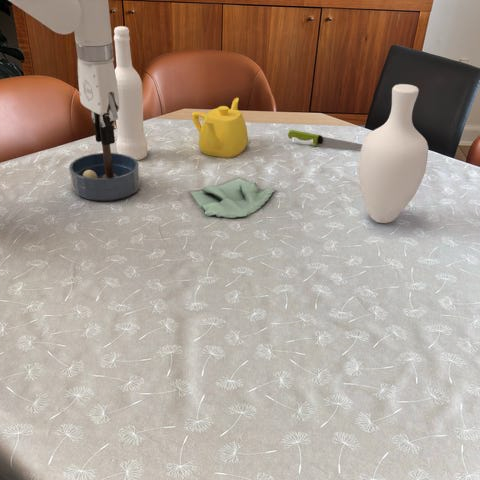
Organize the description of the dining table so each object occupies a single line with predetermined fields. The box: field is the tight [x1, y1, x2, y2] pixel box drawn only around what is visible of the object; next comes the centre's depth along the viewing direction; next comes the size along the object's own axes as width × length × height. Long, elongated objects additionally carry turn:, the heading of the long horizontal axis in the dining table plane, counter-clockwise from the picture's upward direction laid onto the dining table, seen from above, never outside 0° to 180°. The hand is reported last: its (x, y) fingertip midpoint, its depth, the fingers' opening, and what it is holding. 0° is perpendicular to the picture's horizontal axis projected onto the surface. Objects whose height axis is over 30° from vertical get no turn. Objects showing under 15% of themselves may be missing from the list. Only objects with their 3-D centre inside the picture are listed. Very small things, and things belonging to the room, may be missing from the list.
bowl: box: [68, 152, 141, 202], centre depth 157 cm, size 16×16×6 cm
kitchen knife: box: [287, 129, 363, 151], centre depth 180 cm, size 22×1×3 cm, turn 77°
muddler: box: [99, 115, 117, 178], centre depth 150 cm, size 4×4×15 cm
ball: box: [82, 170, 97, 178], centre depth 157 cm, size 4×4×4 cm
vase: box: [357, 83, 429, 224], centre depth 139 cm, size 14×14×28 cm
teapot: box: [191, 97, 249, 159], centre depth 176 cm, size 22×16×11 cm
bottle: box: [113, 25, 149, 161], centre depth 164 cm, size 8×8×30 cm
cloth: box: [190, 178, 276, 219], centre depth 155 cm, size 20×22×2 cm
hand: (105, 141), depth 149 cm, fingers closed on muddler
